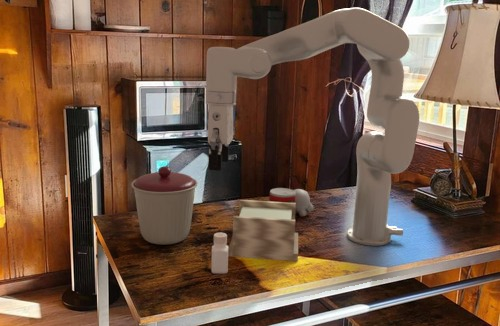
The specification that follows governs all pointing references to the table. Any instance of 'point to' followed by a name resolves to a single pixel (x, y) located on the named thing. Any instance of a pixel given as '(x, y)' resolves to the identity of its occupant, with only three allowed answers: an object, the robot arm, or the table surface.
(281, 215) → the trapdoor
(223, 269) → the pepper shaker
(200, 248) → the table surface
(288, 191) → the canned food
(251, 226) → the stand
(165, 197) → the canister
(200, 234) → the table surface
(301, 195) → the chubby cartoon animal
